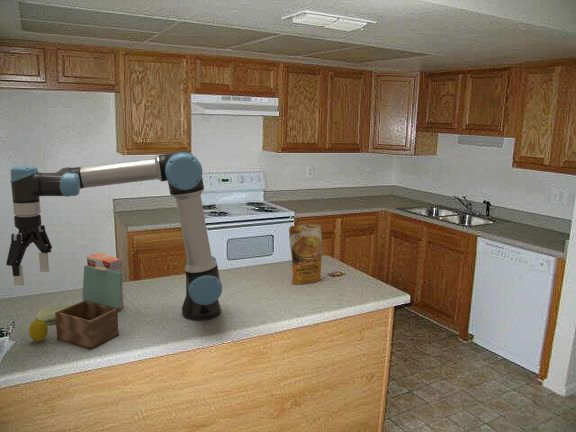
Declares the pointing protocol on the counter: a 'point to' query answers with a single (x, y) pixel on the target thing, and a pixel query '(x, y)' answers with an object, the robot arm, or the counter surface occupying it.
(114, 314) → the box
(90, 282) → the lid
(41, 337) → the lemon
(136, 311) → the counter surface
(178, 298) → the counter surface
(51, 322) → the washcloth
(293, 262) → the pancake mix bag
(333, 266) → the counter surface
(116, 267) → the cracker box
